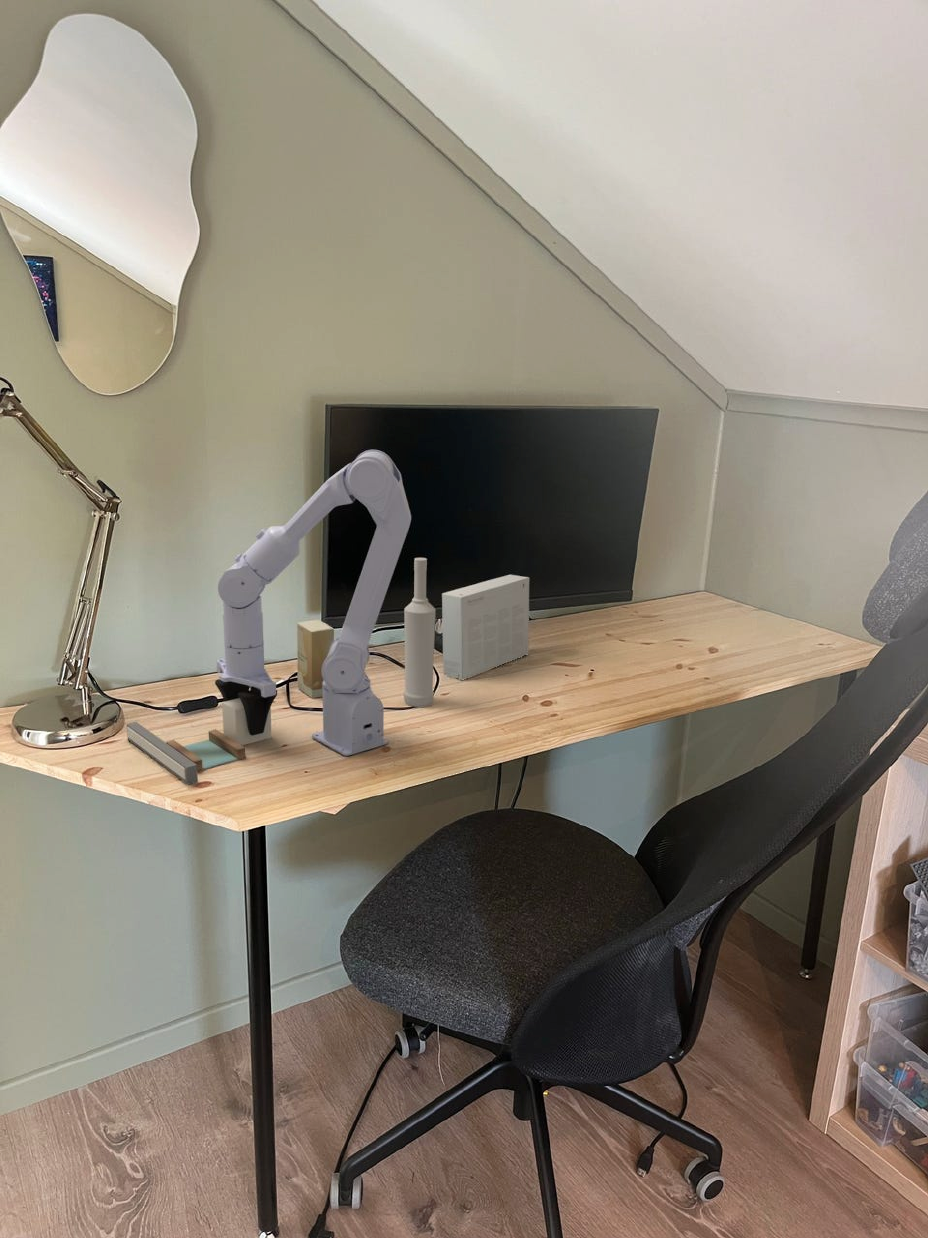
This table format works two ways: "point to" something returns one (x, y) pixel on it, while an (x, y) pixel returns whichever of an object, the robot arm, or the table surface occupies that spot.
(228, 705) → the carton
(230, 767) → the table surface
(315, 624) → the skincare box
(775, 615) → the table surface
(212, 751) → the facing slot
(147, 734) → the rail
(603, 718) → the table surface
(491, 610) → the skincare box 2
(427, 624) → the bottle
